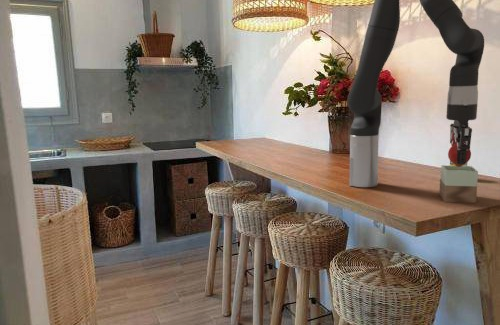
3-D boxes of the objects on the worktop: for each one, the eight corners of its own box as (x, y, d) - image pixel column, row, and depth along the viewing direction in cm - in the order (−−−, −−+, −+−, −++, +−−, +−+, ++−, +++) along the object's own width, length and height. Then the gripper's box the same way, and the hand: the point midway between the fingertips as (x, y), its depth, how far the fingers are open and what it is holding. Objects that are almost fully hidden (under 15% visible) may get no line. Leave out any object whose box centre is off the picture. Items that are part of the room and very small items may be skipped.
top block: (445, 185, 112) (446, 170, 111) (440, 179, 119) (441, 165, 119) (477, 186, 110) (478, 171, 109) (470, 179, 117) (471, 165, 116)
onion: (450, 164, 118) (451, 137, 116) (471, 166, 114) (473, 138, 113) (445, 167, 114) (446, 140, 112) (467, 169, 110) (469, 141, 108)
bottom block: (444, 202, 113) (445, 185, 112) (439, 195, 120) (440, 179, 120) (476, 203, 111) (477, 186, 110) (468, 195, 118) (469, 179, 117)
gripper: (442, 101, 118) (439, 157, 121) (453, 104, 105) (449, 166, 108) (470, 101, 116) (466, 157, 120) (485, 103, 103) (480, 166, 106)
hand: (458, 161), depth 114 cm, fingers closed on onion, 5 cm apart
